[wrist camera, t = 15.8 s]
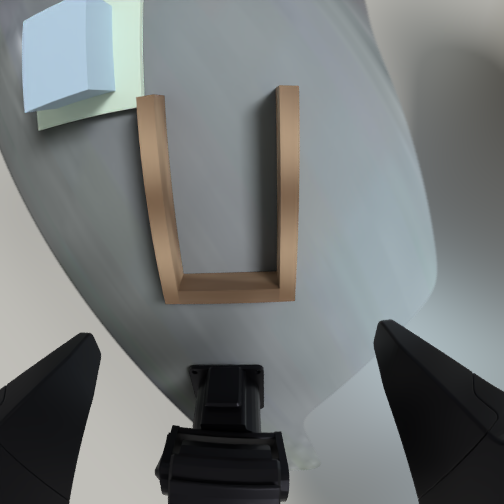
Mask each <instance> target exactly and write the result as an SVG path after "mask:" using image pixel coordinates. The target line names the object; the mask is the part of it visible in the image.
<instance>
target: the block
mask: <svg viewBox="0 0 504 504" xmlns="http://www.w3.org/2000/svg"><path fill="white" fill-rule="evenodd" d="M22 77H23V96H24V108H25V113H28V112H35V111H42V110H50V109H58V108H60V107H63V106H66V105H69V104H72V103H75V102H78V101H81V100H85V99H88V98H91V97H95V96H98V95H102V94H105V93H109V92H113V91H116V90H115V77H114V62H113V39H112V6H111V5H109V4H108V3H106V2H105V1H103V0H64V1H62V2H60V3H58V4H56V5H54V6H52V7H50V8H48V9H46V10H44V11H42V12H40V13H38V14H36V15H34V16H32V17H31V18H29V19H27V20H25V21H24V22H23V38H22Z"/></svg>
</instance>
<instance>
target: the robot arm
mask: <svg viewBox="0 0 504 504" xmlns="http://www.w3.org/2000/svg"><path fill="white" fill-rule="evenodd" d="M374 350H375V354H376V358H377V362H378V366H379V370H380V374H381V379H382V383H383V387H384V390H385V393H386V396H387V399H388V402H389V405H390V408H391V411H392V414H393V416H394V419H395V423H396V426H397V429H398V432H399V435H400V438H401V441H402V444H403V448H404V451H405V454H406V457H407V461H408V464H409V468H410V471H411V475H412V478H413V481H414V486H415V489H416V493H417V496H418V498H419V499H418V501H419V504H504V392H503V391H502V390H500V389H498V388H497V387H495V386H493V385H492V384H490V383H488V382H487V381H485V380H484V379H482V378H481V377H479V376H478V375H476V374H475V373H472V372H471V371H470V370H469V369H467V368H466V367H464V366H463V365H461V364H460V363H458V362H456V361H455V360H453V359H452V358H450V357H449V356H447V355H446V354H444V353H443V352H441V351H440V350H438V349H437V348H435V347H434V346H432V345H431V344H429V343H427V342H426V341H424V340H423V339H421V338H420V337H418V336H417V335H415V334H414V333H412V332H411V331H409V330H408V329H406V328H404V327H403V326H401V325H400V324H398V323H397V322H395V321H394V320H391V319H389V320H382V321H380V322H379V323H378V325H377V330H376V334H375V338H374ZM100 360H101V353H100V350H99V348H98V345H97V343H96V341H95V339H94V337H93V335H92V334H91V333H79V334H78V335H76V336H75V337H73V338H72V339H70V340H69V341H67V342H66V343H65V344H63V345H62V346H60V347H59V348H57V349H56V350H55V351H53V352H52V353H50V354H49V355H48V356H46V357H45V358H43V359H42V360H40V361H39V362H37V363H36V364H35V365H34V366H32V367H30V368H29V369H28V370H26V371H25V372H23V373H22V374H21V375H19V376H18V377H17V378H15V379H14V380H13V381H11V382H10V383H8V384H7V386H4V387H3V388H1V389H0V504H69V500H70V495H71V489H72V483H73V478H74V473H75V469H76V463H77V459H78V455H79V450H80V446H81V442H82V437H83V434H84V430H85V426H86V422H87V418H88V414H89V410H90V407H91V404H92V400H93V396H94V391H95V386H96V380H97V375H98V370H99V365H100ZM257 370H259V371H257ZM189 373H190V377H191V381H192V384H193V388H194V392H195V395H196V406H195V414H194V421H193V429H192V428H183V427H179V426H175V425H173V426H172V429H171V433H169V434H168V435H167V440H166V444H165V448H164V451H163V454H162V456H161V459H160V461H159V463H158V465H157V467H156V469H155V475H156V476H157V478H158V479H159V480H160V485H161V491H162V494H163V495H168V504H280V502H284V501H286V500H287V497H288V493H289V469H288V463H287V458H286V453H285V448H284V443H283V438H282V433H281V432H274V433H261V418H260V409H262V408H263V407H264V370H263V367H262V366H260V365H243V366H191V367H190V370H189Z"/></svg>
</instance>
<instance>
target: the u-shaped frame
mask: <svg viewBox="0 0 504 504" xmlns="http://www.w3.org/2000/svg"><path fill="white" fill-rule="evenodd" d="M275 89H276V136H277V271H267V272H237V273H201V274H183V268H182V261H181V254H180V248H179V241H178V233H177V226H176V218H175V210H174V202H173V193H172V184H171V175H170V164H169V154H168V142H167V129H166V115H165V98H164V96H162V95H154V94H153V95H147V96H141V97H136V104H137V118H138V131H139V142H140V152H141V161H142V170H143V178H144V186H145V193H146V200H147V207H148V214H149V220H150V226H151V232H152V238H153V244H154V250H155V255H156V260H157V265H158V271H159V276H160V280H161V285H162V290H163V295H164V299H165V304H221V303H258V302H283V301H295V287H296V267H297V243H298V212H299V86H283V85H279V86H278V87H277V88H275Z"/></svg>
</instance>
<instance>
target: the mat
mask: <svg viewBox="0 0 504 504" xmlns="http://www.w3.org/2000/svg"><path fill="white" fill-rule="evenodd" d="M103 1H105V2H106V3H108V4H109V5H111V6H112V39H113V62H114V77H115V90H116V91H113V92H109V93H105V94H102V95H98V96H95V97H91V98H88V99H85V100H81V101H78V102H75V103H72V104H69V105H66V106H63V107H60V108H58V109H50V110H42V111H37V120H38V131H40V130H44V129H47V128H50V127H54V126H57V125H61V124H65V123H68V122H72V121H76V120H80V119H84V118H89V117H93V116H97V115H102V114H107V113H112V112H117V111H122V110H127V109H133V108H137V104H136V97H141V96H145V95H144V73H143V0H103Z"/></svg>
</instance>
